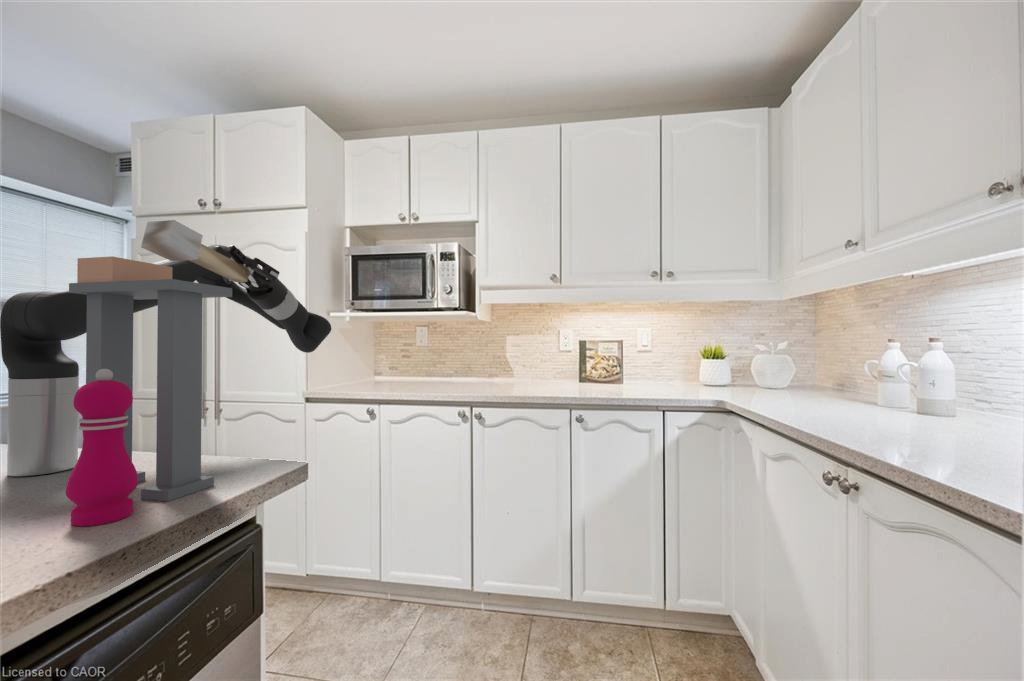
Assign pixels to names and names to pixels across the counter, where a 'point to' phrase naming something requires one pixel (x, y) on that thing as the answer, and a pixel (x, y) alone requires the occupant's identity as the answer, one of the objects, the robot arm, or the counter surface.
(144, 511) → the counter surface
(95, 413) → the pepper mill
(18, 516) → the counter surface
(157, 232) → the mallet
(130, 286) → the shelf
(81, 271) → the base block
